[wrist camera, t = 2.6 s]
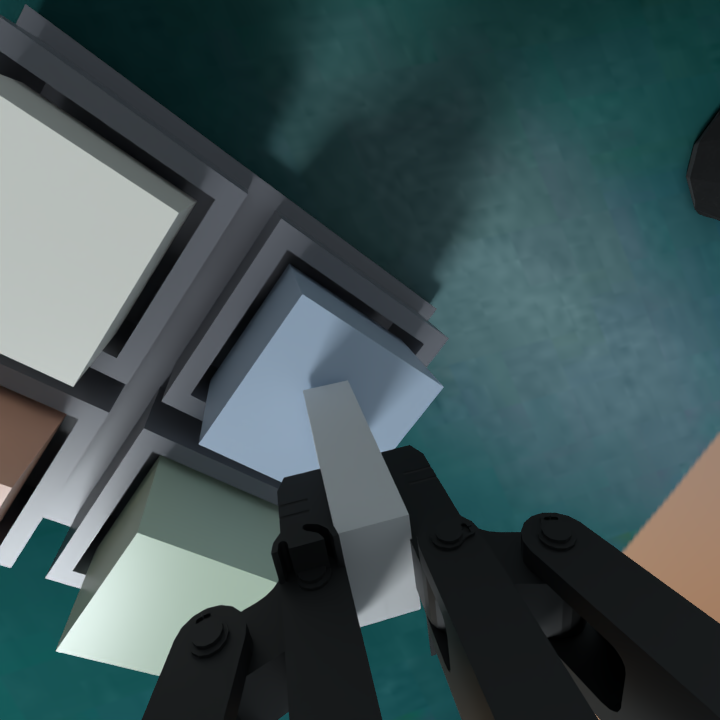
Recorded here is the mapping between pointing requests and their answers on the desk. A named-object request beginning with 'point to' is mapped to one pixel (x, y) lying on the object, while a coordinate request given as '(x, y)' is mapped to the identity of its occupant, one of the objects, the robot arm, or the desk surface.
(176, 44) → the desk surface
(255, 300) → the keypad
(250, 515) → the key sage
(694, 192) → the gaming mouse
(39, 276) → the key ivory
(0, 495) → the key terracotta
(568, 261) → the desk surface
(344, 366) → the key slate
